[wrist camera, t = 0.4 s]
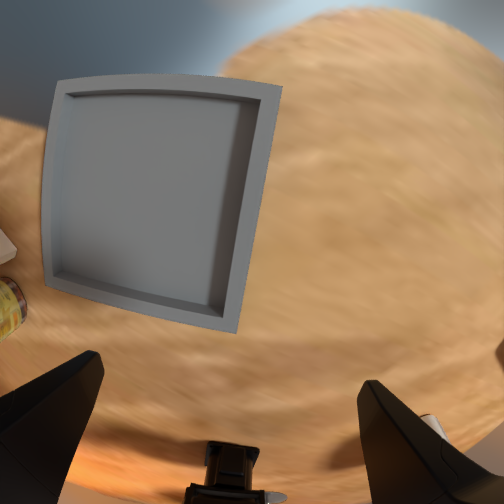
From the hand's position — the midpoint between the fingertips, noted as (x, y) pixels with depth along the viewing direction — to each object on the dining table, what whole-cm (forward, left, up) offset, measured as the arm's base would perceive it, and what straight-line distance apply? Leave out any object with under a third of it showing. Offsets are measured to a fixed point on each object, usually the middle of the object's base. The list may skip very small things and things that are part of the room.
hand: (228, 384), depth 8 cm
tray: (+3, +9, -14) cm, 17 cm away
